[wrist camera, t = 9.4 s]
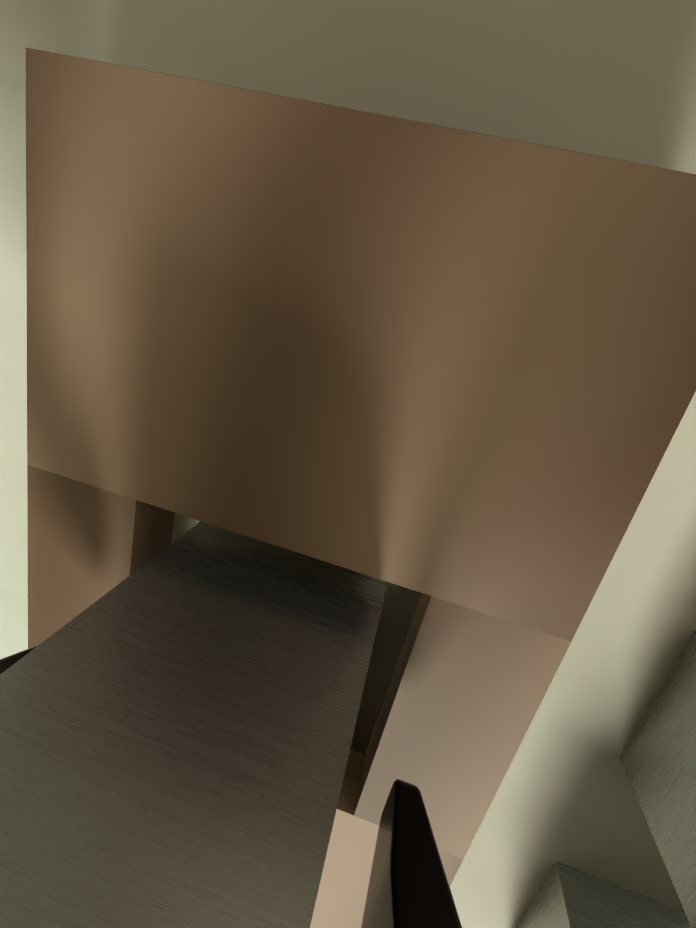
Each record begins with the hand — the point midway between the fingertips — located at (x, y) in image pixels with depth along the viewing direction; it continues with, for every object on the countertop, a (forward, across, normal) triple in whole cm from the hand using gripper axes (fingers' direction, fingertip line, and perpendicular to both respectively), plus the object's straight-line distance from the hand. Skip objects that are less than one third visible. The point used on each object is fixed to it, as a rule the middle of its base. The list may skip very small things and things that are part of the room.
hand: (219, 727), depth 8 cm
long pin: (+5, 0, 0) cm, 5 cm away
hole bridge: (+5, 0, 0) cm, 5 cm away
